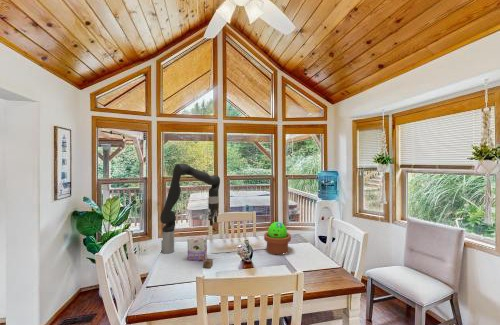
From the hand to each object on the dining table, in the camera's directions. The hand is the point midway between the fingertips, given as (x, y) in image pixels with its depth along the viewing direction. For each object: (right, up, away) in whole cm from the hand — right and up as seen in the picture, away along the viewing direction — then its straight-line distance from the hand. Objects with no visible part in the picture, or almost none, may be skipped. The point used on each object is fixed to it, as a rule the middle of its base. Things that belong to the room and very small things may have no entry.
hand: (213, 224), depth 182 cm
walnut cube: (-3, -29, -6) cm, 30 cm away
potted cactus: (+50, -29, +24) cm, 62 cm away
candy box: (-13, -29, +6) cm, 32 cm away
